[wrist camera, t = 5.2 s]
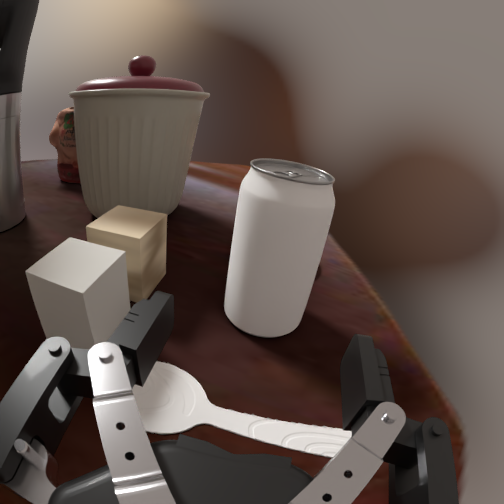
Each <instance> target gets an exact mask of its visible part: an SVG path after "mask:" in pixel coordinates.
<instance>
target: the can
mask: <svg viewBox="0 0 504 504" xmlns="http://www.w3.org/2000/svg"><path fill="white" fill-rule="evenodd" d="M250 165H251V169H250V171H249V172H248V174H247V175H246V176H245V178H244V179H243V181H242V183H241V187H240V192H239V198H238V204H237V211H236V217H235V224H234V231H233V238H232V246H231V253H230V260H229V268H228V276H227V283H226V292H225V301H224V310H225V313H226V315H227V317H228V318H229V320H230V321H231V322H232V323H233V324H234V325H235V326H236V327H237V328H238V329H240V330H242V331H243V332H245V333H247V334H250V335H253V336H257V337H263V338H274V337H279V336H283V335H285V334H288V333H290V332H292V331H293V330H294V329H296V328H297V326H298V325H299V323H300V321H301V319H302V316H303V313H304V310H305V307H306V304H307V301H308V298H309V295H310V292H311V288H312V285H313V282H314V279H315V276H316V272H317V269H318V266H319V262H320V259H321V256H322V252H323V249H324V245H325V242H326V238H327V234H328V231H329V227H330V223H331V219H332V215H333V211H334V207H335V198H334V193H333V188H332V185H333V183H334V182H335V179H334V178H333V176H331V175H330V174H328V173H326V172H324V171H322V170H320V169H317V168H314V167H311V166H308V165H304V164H301V163H296V162H291V161H285V160H279V159H255V160H252V161H251V162H250Z"/></svg>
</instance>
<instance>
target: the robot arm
mask: <svg viewBox="0 0 504 504" xmlns="http://www.w3.org/2000/svg"><path fill="white" fill-rule="evenodd" d="M38 3H39V0H0V48H1V50H0V232H2V231H5V230H7V229H9V228H12V227H13V226H15V225H17V224H18V223H20V222H21V221H22V220H23V219H24V217H25V215H26V212H25V202H24V196H23V185H22V173H21V156H20V110H21V91H22V81H23V74H24V68H25V62H26V55H27V49H28V45H29V40H30V36H31V32H32V29H33V25H34V21H35V17H36V13H37V9H38ZM173 325H174V296H173V295H172V294H168V293H164V292H161V291H156V292H155V293H154V294H153V296H152V297H151V299H150V300H147V299H142V300H141V301H139V302H137V303H136V304H134V305H133V307H132V308H131V309H130V311H129V313H127V315H126V316H125V317H124V320H122V321H121V323H120V324H119V326H118V327H117V328H116V330H115V331H114V332H113V334H112V335H111V337H110V338H109V339H108V341H107V342H102V343H98V344H96V345H94V346H93V347H92V348H91V349H79V348H71V346H70V343H69V342H68V341H67V340H66V339H65V338H63V337H51V338H49V339H47V340H45V341H44V342H43V343H42V345H41V346H40V347H39V349H38V350H37V351H36V352H35V354H34V355H33V357H32V358H31V359H30V361H29V362H28V363H27V365H26V366H25V367H24V369H23V370H22V372H21V373H20V374H19V376H18V377H17V379H16V380H15V382H14V383H13V385H12V386H11V388H10V389H9V390H8V392H7V393H6V395H5V396H4V398H3V400H2V401H1V403H0V485H1V486H3V487H4V488H6V489H7V490H9V491H11V492H13V493H15V494H16V495H18V496H20V497H22V498H25V499H27V500H28V501H30V502H31V503H33V504H351V503H352V502H353V501H354V499H355V498H356V497H357V496H358V494H359V493H360V492H361V491H362V490H363V488H364V487H365V486H366V484H367V483H368V482H369V481H370V479H371V478H372V477H373V475H374V474H375V473H376V471H377V470H378V468H379V467H380V466H381V464H382V462H383V461H384V462H387V463H389V504H459V503H458V491H457V481H456V473H455V465H454V458H453V452H452V446H451V440H450V435H449V430H448V427H447V425H446V424H445V423H444V422H443V421H442V420H441V419H439V418H436V417H431V418H428V419H426V420H425V421H424V422H423V423H421V422H418V421H415V420H412V419H409V418H407V417H406V416H405V413H404V411H403V410H402V408H401V407H400V406H398V405H397V404H395V401H394V396H393V391H392V386H391V381H390V377H389V371H388V369H387V368H388V367H387V362H386V358H385V356H384V355H383V354H382V352H381V351H380V349H374V344H373V339H372V337H371V336H365V335H359V334H355V335H354V336H353V338H352V340H351V342H350V344H349V346H348V348H347V350H346V352H345V354H344V356H343V358H342V361H341V365H340V378H341V395H342V417H343V431H351V432H352V437H351V438H350V439H349V440H348V441H347V442H346V444H345V445H344V446H343V447H342V448H341V449H340V450H339V451H338V453H337V454H336V455H335V456H334V457H333V458H332V459H331V460H330V461H329V462H328V463H327V464H326V465H325V466H324V467H323V468H322V469H321V470H320V471H319V472H318V473H317V474H316V475H315V476H314V477H313V478H312V477H311V476H310V475H309V474H308V473H306V472H305V471H303V470H302V469H300V468H298V467H296V466H294V465H291V460H292V458H291V457H283V456H276V455H270V454H240V455H237V454H232V453H230V452H227V451H225V450H223V449H221V448H219V447H217V446H215V445H213V444H211V443H209V442H207V441H203V440H199V439H196V438H192V437H188V436H185V435H182V434H180V435H179V438H178V440H164V441H158V442H154V443H151V444H150V442H149V439H148V437H147V434H146V431H145V428H144V425H143V422H142V419H141V416H140V413H139V410H138V407H137V404H136V401H135V398H134V394H133V391H132V389H133V387H134V385H135V384H136V385H138V386H141V387H143V386H144V384H145V382H146V380H147V378H148V376H149V374H150V372H151V370H152V368H153V366H154V364H155V363H156V361H157V359H158V357H159V355H160V353H161V351H162V349H163V347H164V346H165V344H166V342H167V340H168V338H169V336H170V334H171V332H172V329H173ZM83 397H86V398H93V405H94V410H95V415H96V420H97V424H98V428H99V433H100V437H101V441H102V445H103V448H104V452H105V456H106V459H107V463H108V465H105V466H103V467H101V468H99V469H97V470H94V471H92V472H90V473H87V474H85V475H83V476H80V477H78V478H76V479H73V480H71V481H68V482H66V483H63V484H62V485H60V486H58V484H57V474H58V463H57V461H56V459H55V458H54V454H55V452H56V449H57V447H58V445H59V443H60V441H61V439H62V437H63V435H64V433H65V431H66V429H67V427H68V425H69V423H70V421H71V420H72V418H73V416H74V414H75V412H76V410H77V408H78V406H79V404H80V402H81V401H82V399H83Z"/></svg>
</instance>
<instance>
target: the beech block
mask: <svg viewBox="0 0 504 504" xmlns="http://www.w3.org/2000/svg"><path fill="white" fill-rule="evenodd" d="M86 232H87V242H90V243H94V244H98V245H102V246H106V247H110V248H114V249H118V250H122V251H126V266H127V278H128V289H129V299H130V301H134V302H139V301H141V300H142V299H147V298H148V297H149V296H150V294H151V293H152V292H153V290H154V289H155V287H156V286H157V285H158V283H159V282H160V281H161V279H162V278H163V277H164V275H165V274H166V237H167V214H164V213H158V212H153V211H148V210H142V209H137V208H131V207H126V206H120V205H118V206H116V207H115V208H113V209H111V210H110V211H108V212H107V213H105V214H104V215H102V216H101V217H99V218H98V219H96V220H95V221H93V222H92V223H90V224H89V225H87V226H86Z"/></svg>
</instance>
